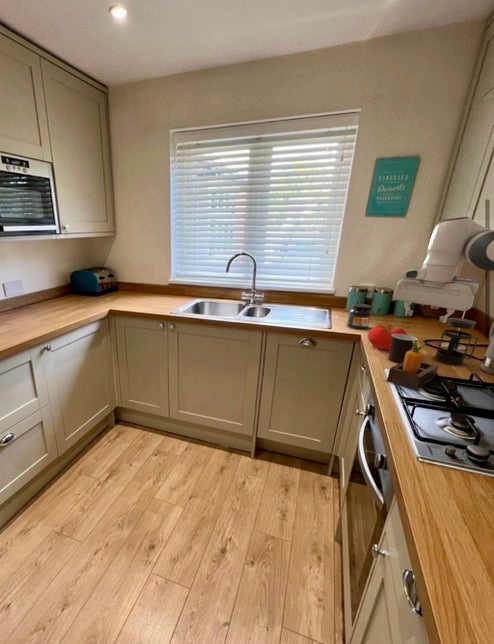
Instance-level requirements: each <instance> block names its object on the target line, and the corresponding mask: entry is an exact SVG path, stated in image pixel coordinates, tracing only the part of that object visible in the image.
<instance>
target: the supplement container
mask: <svg viewBox="0 0 494 644" xmlns="http://www.w3.org/2000/svg"><path fill="white" fill-rule="evenodd" d="M372 307H373V306H372V305H370V304H366V303H352V304H351V305H350V309H349V310H348V316H347V317H348V318H347V321H346V326H347V327H348V328H350V329H355V330H367V329H368V328H369V324H370V319H371V315H372V311H371V310H372Z"/></svg>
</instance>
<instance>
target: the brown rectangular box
mask: <svg viewBox="0 0 494 644" xmlns="http://www.w3.org/2000/svg"><path fill="white" fill-rule="evenodd" d="M403 363H404V361H403V362H401V363H396V364H395V365H393V366H391V367H390V368H389V372H388V375H387V379H386V382H388V383H390V384H394V385H396V386H399V387H403V388H406V389H409V390H412V391H415V392H417V391H419V390H420V389H422V388H423V387H425V386H426V385H427V384H429V383H430V382H432V381H434V380H435V379H436V375H437V372H438V369H439V365H436V364H433V363H429V362H427V361H422V363H421V365H420V368H419V370H418V372H417V373H416V374H414V373H410V372H407V371H404V370H403ZM433 377H434V378H433ZM431 378H432V379H431ZM429 379H431V380H429ZM428 380H429V381H428ZM426 381H428V382H426ZM425 382H426V383H425Z"/></svg>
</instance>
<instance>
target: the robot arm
mask: <svg viewBox="0 0 494 644" xmlns="http://www.w3.org/2000/svg"><path fill="white" fill-rule="evenodd" d="M426 252H427V254H426V258H425V259H424V261H423V263H422V266H421V267H417V268H416V267H415V268H413V269H408V270H404V271H403V272H402V275H401V277H402V278H401V279H399V280H398V281H397V284H396V286H395V289H394V292H393V295H392V296H393V299H394V300H395V301H401V302H403V306H404V310H405V313H404V316H406V317H413V312H414V310H413V309H411V307H410V306H411V305H412V303H413V304H417V305H425V306H430V307H436V308H437V307H438V308H442V309H446V314H445V315H441V316H439V320H438V322H439V323H441V324H445V323H447V322H448V320H447V318H450V316H451V315H453V314H454V313H455V311H460V312H464V311H465V312H466V311H468V310H470V309H472V308H473V307H472V306H473V303H474V298H475V294H477V292H478V291H479V288H480V283H479V281H477V280H475V278H472V277H463V276H457V274H458V272H459V268H460V265H461V264H462V263H467V264H469V265H472V266H475V267H476V268H478V269H481V270H484V271H490V272H491V271H494V230H492V229H491V228H487V227H485V226H483V225H481V224H479V223H477V222H476V221H475V220H473V219H472V217H469V216H459V217H453V218H452V217H451V218H447V219H443V220H441V221H439V222H438V223H437V224H436V225H435V227H434V229H433V230H432V233H431V236H430V239H429V241H428V245H427V249H426Z"/></svg>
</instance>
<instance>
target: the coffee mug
mask: <svg viewBox="0 0 494 644" xmlns="http://www.w3.org/2000/svg"><path fill="white" fill-rule="evenodd" d="M413 341H415V342H417V343H418V338H417V337H416V336H413V335H410V334H407V335H405V334H392V336H391V345H390V350H389V354H388V360H389V361H390V362H392V363H395V364H399V363H401V362H403V361H404V358H405V354H406V352H408V351H410V350H413V349H412V347H413Z"/></svg>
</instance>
